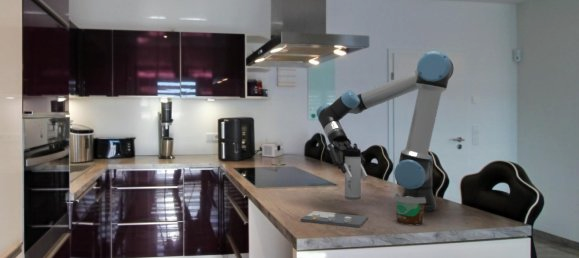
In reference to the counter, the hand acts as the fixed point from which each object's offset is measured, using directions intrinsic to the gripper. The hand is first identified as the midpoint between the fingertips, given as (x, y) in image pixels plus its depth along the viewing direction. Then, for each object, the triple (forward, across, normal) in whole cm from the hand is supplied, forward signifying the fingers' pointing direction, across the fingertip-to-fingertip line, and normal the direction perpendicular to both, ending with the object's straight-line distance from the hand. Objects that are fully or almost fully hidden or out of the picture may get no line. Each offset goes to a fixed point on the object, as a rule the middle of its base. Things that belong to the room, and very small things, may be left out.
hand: (357, 178), depth 167 cm
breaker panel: (+12, +11, -9) cm, 19 cm away
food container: (+22, -11, 0) cm, 24 cm away
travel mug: (+4, 0, -9) cm, 9 cm away
